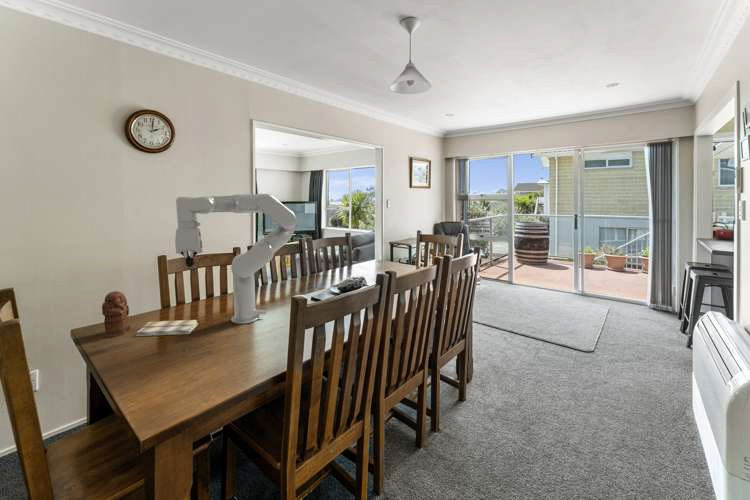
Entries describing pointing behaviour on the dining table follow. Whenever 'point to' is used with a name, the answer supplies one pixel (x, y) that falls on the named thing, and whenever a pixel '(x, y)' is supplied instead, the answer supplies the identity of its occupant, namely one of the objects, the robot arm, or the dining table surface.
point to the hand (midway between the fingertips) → (190, 266)
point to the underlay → (171, 334)
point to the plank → (171, 323)
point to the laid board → (164, 330)
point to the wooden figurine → (115, 314)
